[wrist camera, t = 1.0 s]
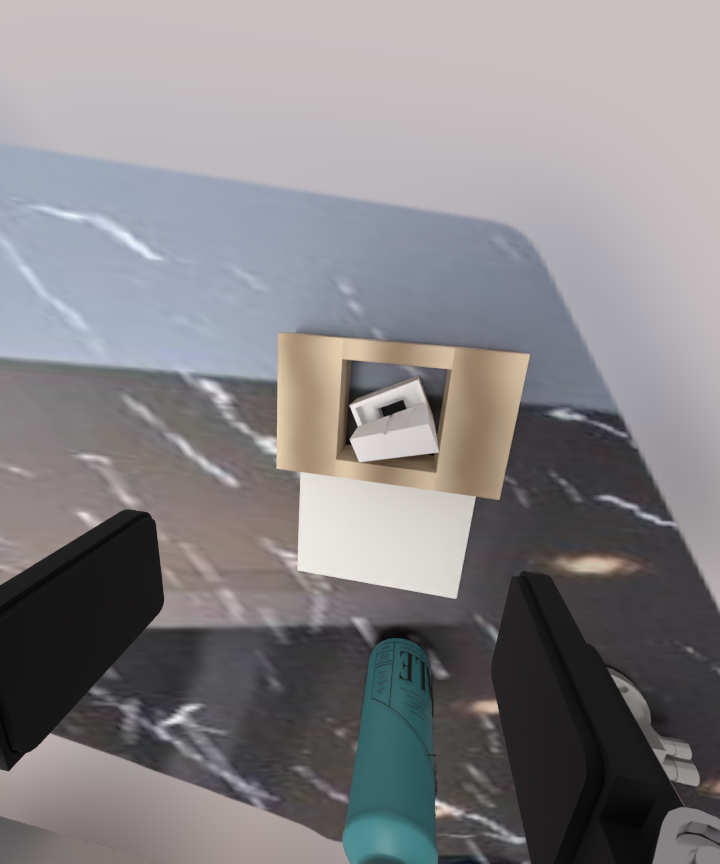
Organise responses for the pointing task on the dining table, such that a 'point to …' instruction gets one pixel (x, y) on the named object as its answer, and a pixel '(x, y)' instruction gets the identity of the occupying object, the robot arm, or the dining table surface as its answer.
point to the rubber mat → (383, 533)
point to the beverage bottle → (394, 762)
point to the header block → (458, 426)
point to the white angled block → (394, 423)
